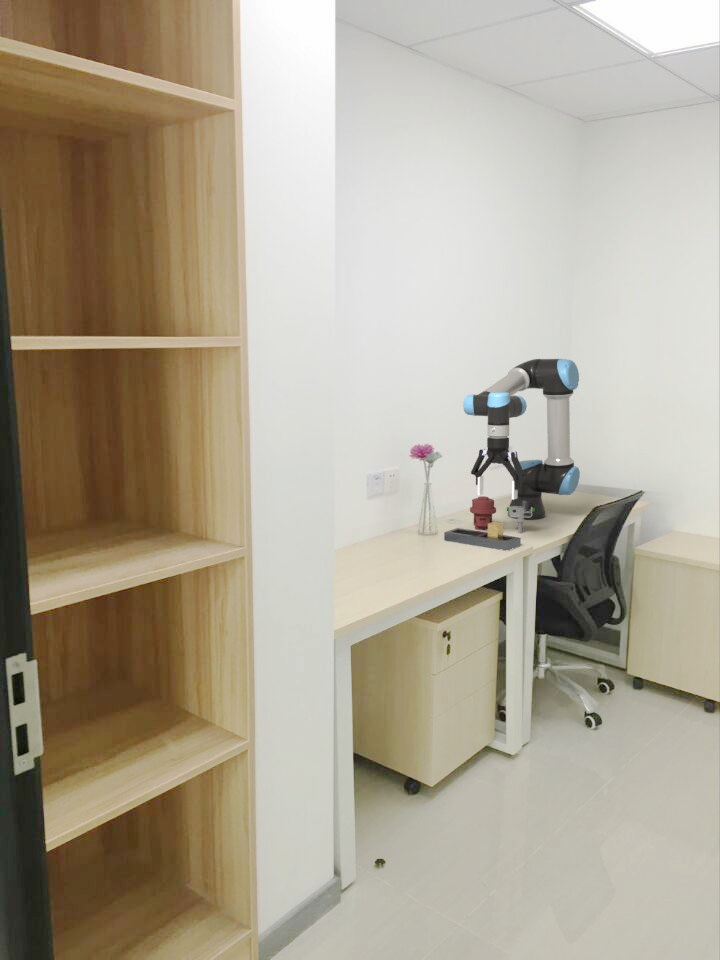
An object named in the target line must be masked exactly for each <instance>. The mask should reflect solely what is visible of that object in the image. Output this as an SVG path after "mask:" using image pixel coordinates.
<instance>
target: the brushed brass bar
mask: <svg viewBox="0 0 720 960" xmlns="http://www.w3.org/2000/svg"><path fill="white" fill-rule="evenodd" d="M487 533H488V538H492V539H498V540H503V535H504V523H503V522H497V521H492V523H488V530H487Z"/></svg>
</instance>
